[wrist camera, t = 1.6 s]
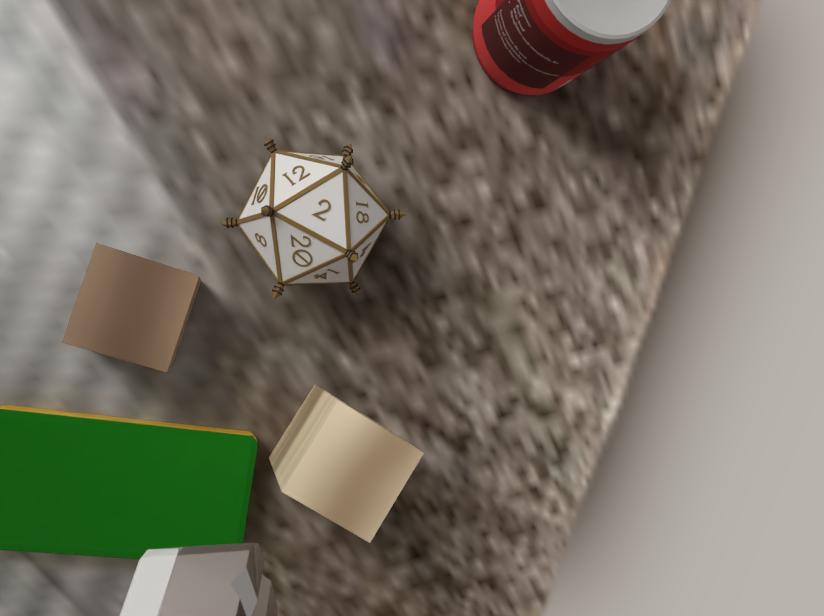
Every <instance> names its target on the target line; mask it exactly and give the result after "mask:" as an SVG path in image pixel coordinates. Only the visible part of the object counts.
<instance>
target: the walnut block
mask: <svg viewBox="0 0 824 616" xmlns="http://www.w3.org/2000/svg"><path fill="white" fill-rule="evenodd" d="M200 283H201V279H200V277H199V276H198V275H195V274H192V273H189V272H186V271H182V270H179V269H176V268H173V267H170V266H167V265H164V264H160V263H157V262H154V261H151V260H148V259H145V258H142V257H139V256H135V255H132V254H129V253H126V252H123V251H120V250H117V249H113V248H110V247H107V246H104V245H101V244H98V243H96V246H95V249H94V251H93V254H92V257H91V260H90V263H89V266H88V269H87V272H86V274H85V277H84V280H83V283H82V286H81V289H80V292H79V295H78V297H77V300H76V303H75V306H74V309H73V312H72V315H71V318H70V321H69V323H68V326H67V329H66V332H65V335H64V338H63V341H62V343H65V344H69V345H72V346H76V347H79V348H83V349H86V350H90V351H93V352H97V353H100V354H104V355H107V356H111V357H114V358H118V359H121V360H125V361H128V362H132V363H135V364H139V365H142V366H146V367H149V368H153V369H156V370H160V371H163V372H166V373H167V372H168V371H169V369H170V368H171V367H172V366H173V364H174V361H175V358H176V355H177V352H178V349H179V346H180V343H181V340H182V337H183V334H184V331H185V328H186V325H187V322H188V319H189V316H190V313H191V310H192V307H193V304H194V301H195V298H196V295H197V292H198V289H199V286H200Z"/></svg>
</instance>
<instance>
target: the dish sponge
mask: <svg viewBox="0 0 824 616" xmlns="http://www.w3.org/2000/svg"><path fill="white" fill-rule="evenodd" d="M257 447H258V442H257V439H256V437H255V436H254V435H253V433H252V432H250V431H241V430H232V429H222V428H213V427H204V426H195V425H186V424H176V423H167V422H158V421H149V420H140V419H130V418H121V417H112V416H103V415H94V414H84V413H75V412H66V411H57V410H48V409H38V408H29V407H20V406H11V405H2V406H0V550H14V551H29V552H44V553H59V554H74V555H89V556H104V557H119V558H133V559H141V557H142V556H143V555H144V553H145V552H146V551H147V550H148V549H163V548H178V547H188V546H205V545H222V544H238V543H243V539H244V532H245V526H246V519H247V513H248V506H249V500H250V493H251V486H252V480H253V473H254V467H255V460H256V453H257Z"/></svg>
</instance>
